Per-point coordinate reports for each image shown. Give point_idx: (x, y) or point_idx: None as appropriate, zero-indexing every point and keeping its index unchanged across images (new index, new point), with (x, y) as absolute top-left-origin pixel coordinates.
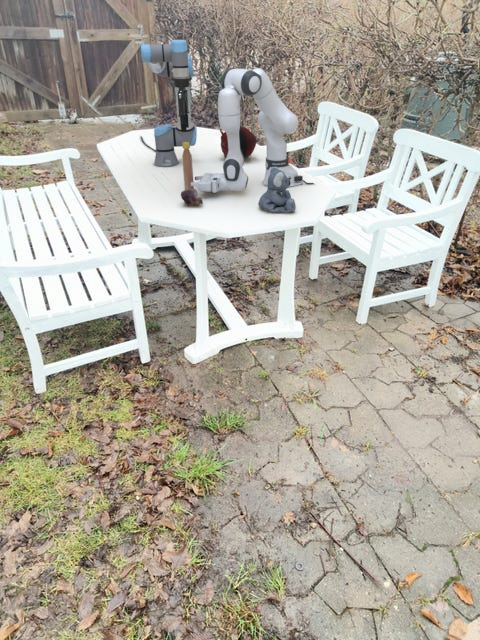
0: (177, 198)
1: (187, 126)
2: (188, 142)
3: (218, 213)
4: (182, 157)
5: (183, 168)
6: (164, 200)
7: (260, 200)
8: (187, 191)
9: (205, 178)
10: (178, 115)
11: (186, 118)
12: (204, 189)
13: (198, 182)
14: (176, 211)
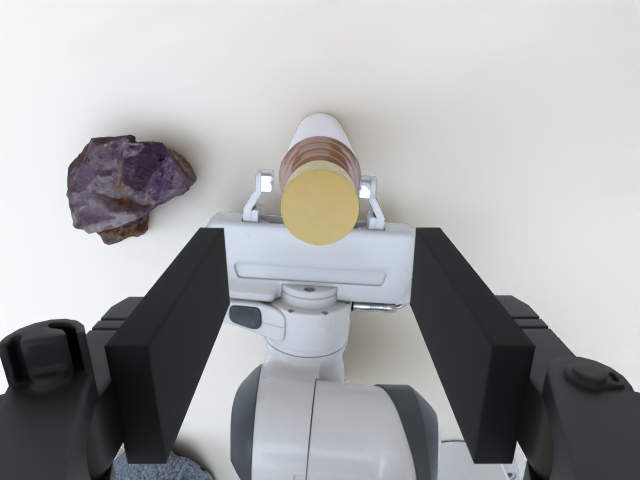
0: (224, 87)
1: (413, 298)
2: (341, 231)
3: (68, 303)
4: (299, 141)
5: (299, 132)
6: (183, 16)
7: (125, 468)
8: (67, 186)
9: (305, 253)
10: (2, 346)
11: (449, 365)
12: None
13: (254, 218)
14: (42, 118)
